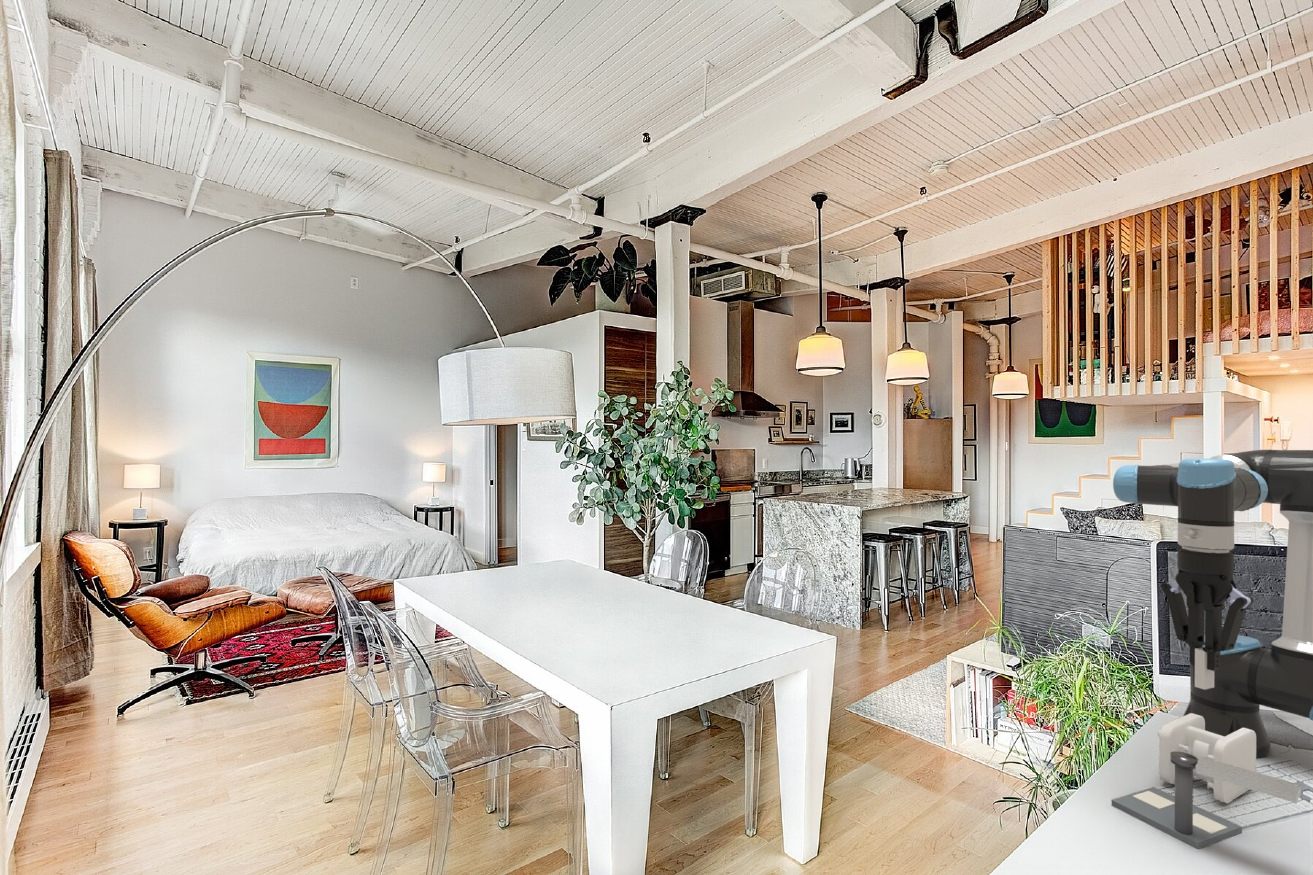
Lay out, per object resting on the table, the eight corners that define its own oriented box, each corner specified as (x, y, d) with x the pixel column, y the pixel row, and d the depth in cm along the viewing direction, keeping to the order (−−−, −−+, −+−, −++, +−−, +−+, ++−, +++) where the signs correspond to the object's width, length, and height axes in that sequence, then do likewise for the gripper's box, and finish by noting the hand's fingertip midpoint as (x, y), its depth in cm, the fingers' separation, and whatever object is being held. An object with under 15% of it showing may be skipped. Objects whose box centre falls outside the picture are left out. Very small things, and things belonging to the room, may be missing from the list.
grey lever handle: (1300, 792, 104) (1300, 785, 104) (1296, 803, 101) (1296, 795, 101) (1174, 755, 116) (1174, 748, 116) (1167, 763, 113) (1167, 756, 113)
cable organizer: (1222, 810, 121) (1222, 746, 121) (1155, 784, 130) (1155, 724, 130) (1257, 789, 128) (1257, 728, 128) (1191, 765, 137) (1192, 708, 137)
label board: (1153, 791, 127) (1154, 728, 127) (1241, 832, 114) (1242, 761, 114) (1111, 805, 122) (1111, 739, 122) (1198, 848, 109) (1198, 775, 109)
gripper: (1150, 544, 119) (1149, 677, 119) (1237, 556, 107) (1236, 704, 107) (1177, 541, 122) (1176, 671, 122) (1264, 553, 110) (1263, 697, 110)
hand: (1204, 686), depth 115 cm, fingers closed
